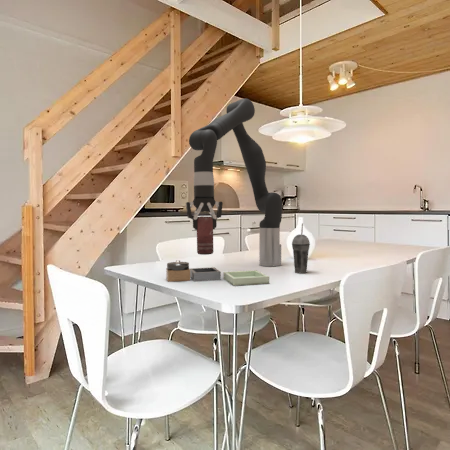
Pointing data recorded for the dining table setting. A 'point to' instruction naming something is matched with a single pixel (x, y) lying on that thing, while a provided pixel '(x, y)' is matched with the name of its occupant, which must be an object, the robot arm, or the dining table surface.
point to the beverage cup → (300, 252)
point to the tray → (246, 278)
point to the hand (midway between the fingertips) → (204, 229)
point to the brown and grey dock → (190, 272)
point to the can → (204, 235)
